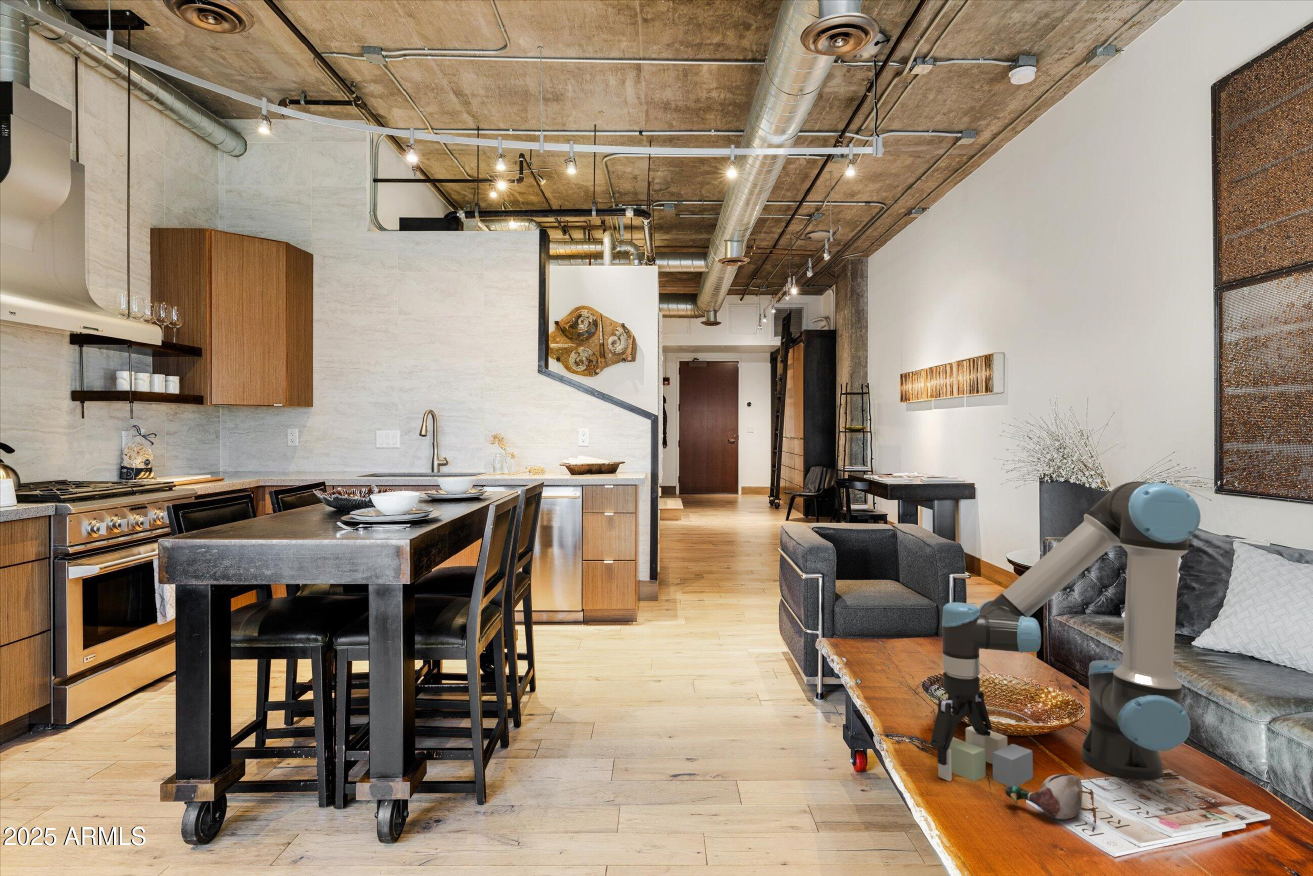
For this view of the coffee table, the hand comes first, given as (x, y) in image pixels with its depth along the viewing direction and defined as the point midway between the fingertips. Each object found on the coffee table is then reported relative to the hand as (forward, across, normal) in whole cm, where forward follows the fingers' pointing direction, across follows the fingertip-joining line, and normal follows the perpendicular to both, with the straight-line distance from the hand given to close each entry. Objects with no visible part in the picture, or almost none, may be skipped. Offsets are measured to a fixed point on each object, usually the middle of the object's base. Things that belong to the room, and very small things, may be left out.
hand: (962, 771), depth 149 cm
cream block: (0, -11, -1) cm, 11 cm away
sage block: (0, 0, 0) cm, 0 cm away
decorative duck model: (0, 0, +19) cm, 19 cm away
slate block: (0, -6, +8) cm, 10 cm away
